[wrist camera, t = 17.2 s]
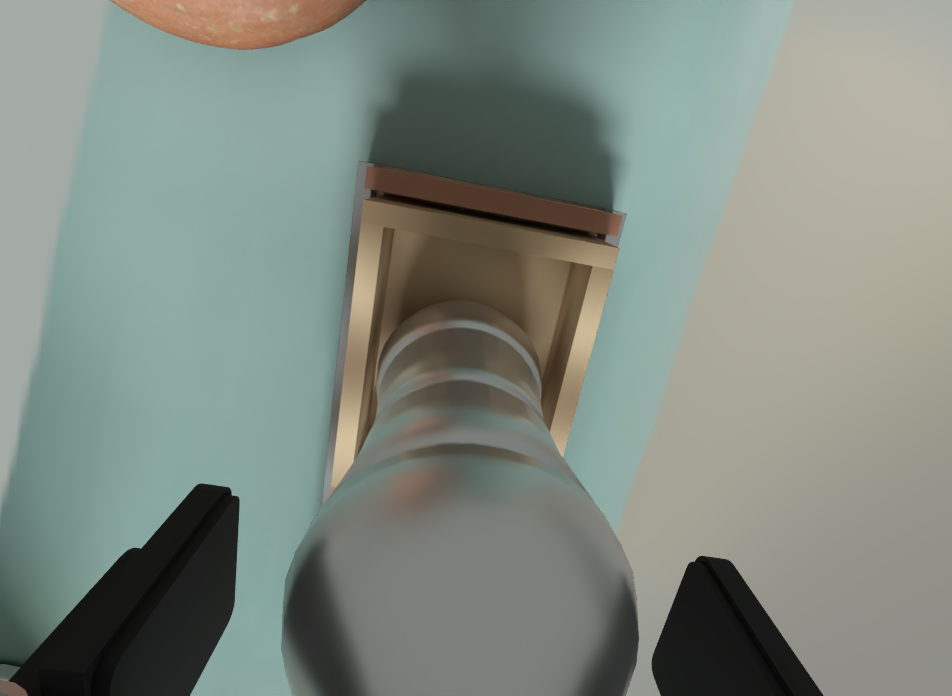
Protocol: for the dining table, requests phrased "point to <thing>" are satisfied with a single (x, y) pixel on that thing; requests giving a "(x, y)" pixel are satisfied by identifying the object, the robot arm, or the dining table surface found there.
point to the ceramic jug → (240, 19)
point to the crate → (471, 299)
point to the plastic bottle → (459, 538)
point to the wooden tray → (461, 197)
